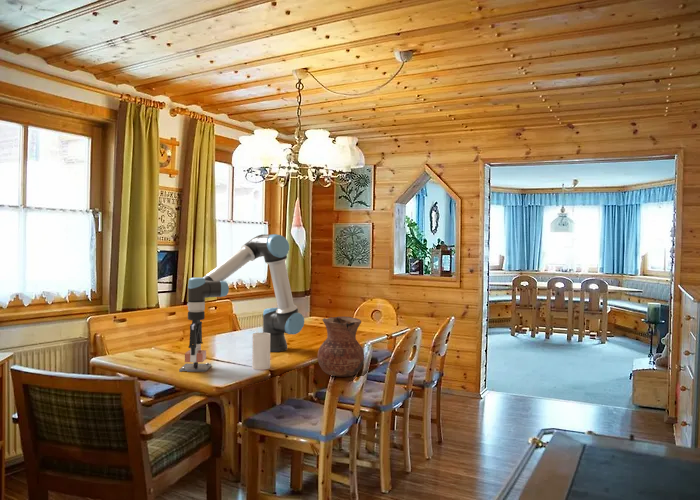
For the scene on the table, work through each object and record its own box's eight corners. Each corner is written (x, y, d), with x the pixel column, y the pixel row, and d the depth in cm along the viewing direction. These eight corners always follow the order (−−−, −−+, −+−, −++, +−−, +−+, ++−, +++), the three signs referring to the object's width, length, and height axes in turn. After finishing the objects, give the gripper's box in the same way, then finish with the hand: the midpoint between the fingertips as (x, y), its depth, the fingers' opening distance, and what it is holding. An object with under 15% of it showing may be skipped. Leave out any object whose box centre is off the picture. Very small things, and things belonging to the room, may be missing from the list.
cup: (253, 365, 261) (253, 332, 260) (270, 365, 261) (270, 332, 261) (251, 369, 252) (251, 335, 252) (269, 369, 253) (269, 335, 253)
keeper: (211, 365, 259) (211, 345, 259) (206, 371, 248) (206, 350, 247) (185, 365, 259) (185, 345, 259) (179, 371, 247) (179, 350, 247)
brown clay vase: (370, 378, 240) (370, 321, 240) (323, 380, 234) (324, 322, 234) (355, 366, 261) (356, 314, 261) (312, 369, 255) (313, 315, 255)
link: (206, 358, 257) (206, 350, 257) (202, 362, 249) (202, 353, 249) (188, 358, 257) (189, 350, 257) (184, 362, 249) (184, 353, 249)
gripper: (193, 308, 263) (192, 355, 263) (182, 313, 242) (181, 364, 242) (209, 308, 263) (208, 355, 264) (199, 313, 243) (198, 364, 243)
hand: (195, 359), depth 253 cm, fingers closed on link, 8 cm apart
